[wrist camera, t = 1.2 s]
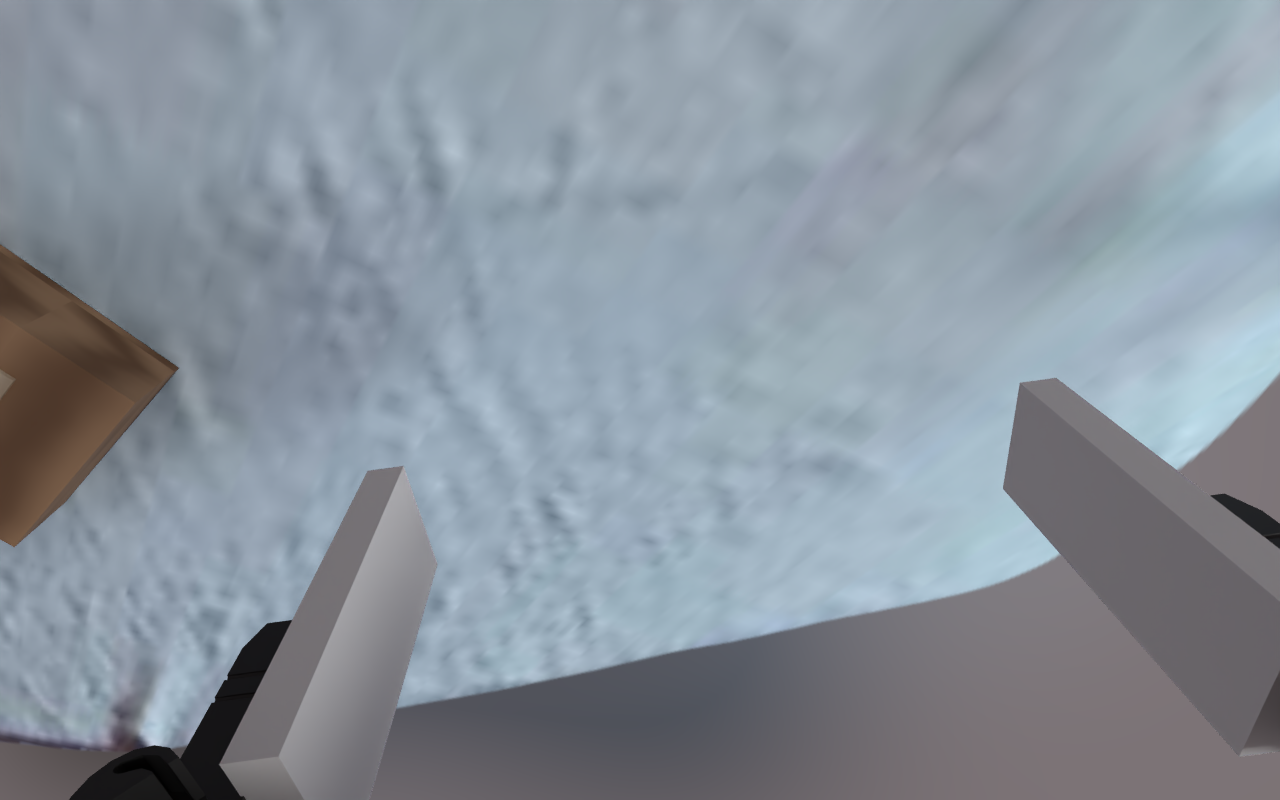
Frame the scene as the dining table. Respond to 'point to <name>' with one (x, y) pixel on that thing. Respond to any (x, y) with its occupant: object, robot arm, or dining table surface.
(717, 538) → the dining table surface
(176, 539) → the dining table surface
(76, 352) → the socket
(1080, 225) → the dining table surface
